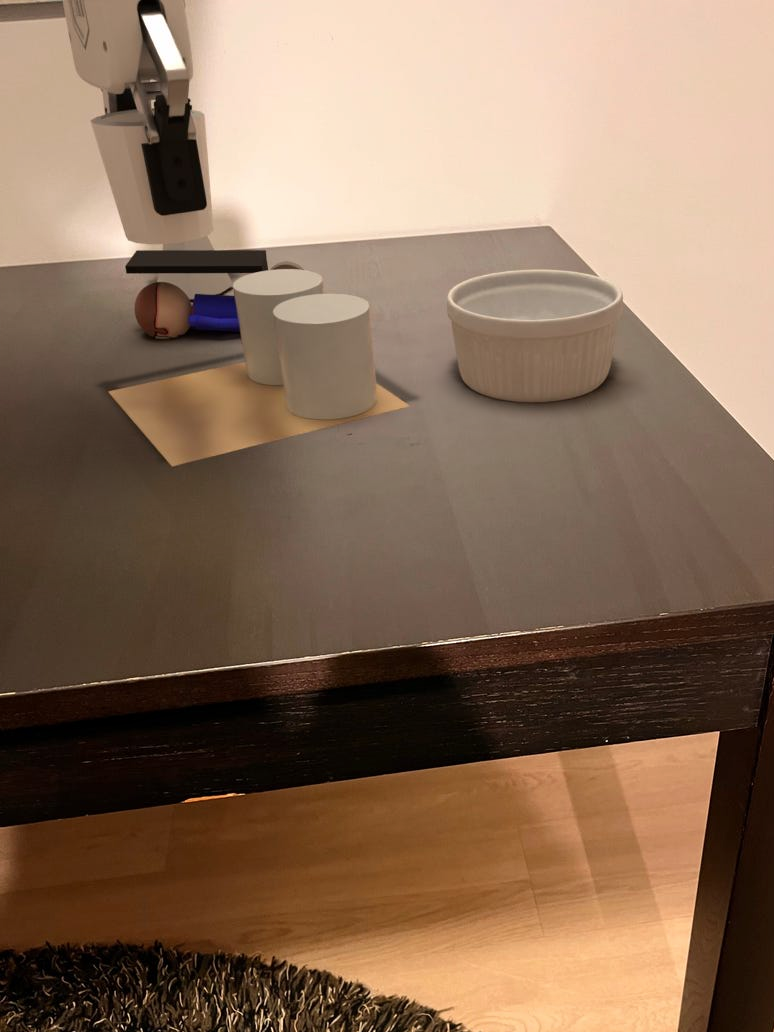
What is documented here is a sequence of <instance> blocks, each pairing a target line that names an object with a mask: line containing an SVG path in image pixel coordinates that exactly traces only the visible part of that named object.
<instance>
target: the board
mask: <svg viewBox="0 0 774 1032" xmlns="http://www.w3.org/2000/svg"><path fill="white" fill-rule="evenodd" d="M376 388H377V402H376V404H375V405H374V406H373V407H372V408H371V409H369V410H368V411H366V412H363V413H361V414H358V415H355V416H352V417H347V418H341V419H332V420H315V419H307V418H303V417H299V416H296V415H294V414H292V413H291V412H289V410H288V409H287V407H286V402H285V395H284V388H283V386H273V385H265V384H260V383H257V382H254V381H252V380H251V379H250V378H249V377H248V376H247V371H246V365H245V361H244V362H243V361H242V362H238V363H235V364H229V365H225V366H224V365H223V366H219V367H215V368H210V369H206V370H201V371H197V372H192V373H188V374H183V375H178V376H174V377H169V378H164V379H160V380H154V381H150V382H146V383H141V384H137V385H136V384H135V385H131V386H127V387H123V388H118V389H113V390H109V391H107V392H108V394H109V395H110V396H111V398H113V400H114V401H115V402H116V403H117V404H118V406H119V407H120V408H121V409H122V410H123V411H124V413H125V414H126V415H127V416H128V417H129V418H130V419H131V420H132V422H133V423H134V424H135V425H136V426H137V428H138V429H139V430H140V431H141V432H142V433H143V435H144V436H145V437H146V438H147V440H148V441H149V442H150V443H151V444H152V445H153V447H155V448H156V450H157V451H158V452H159V453H160V454H161V455H162V457H163V458H164V459H165V460H166V461H167V463H168V464H169V465H170V466H171V467H176V466H180V465H185V464H188V463H192V462H196V461H200V460H205V459H208V458H211V457H216V456H219V455H224V454H228V453H231V452H236V451H240V450H244V449H248V448H251V447H255V446H259V445H263V444H267V443H271V442H275V441H279V440H282V439H288V438H290V437H295V436H299V435H303V434H307V433H311V432H314V431H318V430H322V429H326V428H330V427H334V426H338V425H342V424H347V423H349V422H354V421H358V420H362V419H366V418H369V417H370V418H371V417H374V416H377V415H381V414H385V413H389V412H394V411H397V410H402V409H406V408H409V407H411V405H409V404H408V403H407V402H405V401H404V400H402V399H401V398H399V396H396V395H394V394H393V393H392V392H390V391H388V390H387V389H385V387H383V386H381V385H379V383H377V382H376Z"/></svg>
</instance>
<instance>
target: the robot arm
mask: <svg viewBox="0 0 774 1032" xmlns="http://www.w3.org/2000/svg"><path fill="white" fill-rule="evenodd" d="M62 5H63V10H64V15H65V16H64V17H65V22H66V27H67V32H68V37H69V38H68V39H69V43H70V48H71V53H72V54H71V55H72V59H73V64H74V68H75V71H76V73H77V75H78V77H80V79H81V80H83V81H84V82H85V83H87V84H88V85H90V86H92V87H95V88H97V89H100V91H101V92H102V100H103V101H102V102H103V110H104V111H103V112H104V115H106V114H110V113H115V112H120V111H127V110H136V109H137V110H138V114H139V117H140V120H141V123H142V127H143V130H144V133H145V136H146V139H147V142H148V143H143V144H141V145H142V150H143V155H144V161H145V166H146V171H147V176H148V181H149V186H150V191H151V196H152V201H153V206H154V210H155V211H156V213H158V214H159V215H162V216H165V215H172V214H179V213H186V212H193V211H200V210H204V209H205V208H206V206H207V200H206V194H205V188H204V182H203V176H202V170H201V164H200V158H199V152H198V146H197V141H196V129H195V125H194V122H193V118H192V115H191V112H190V111H191V110H193V105H192V104H191V102H192V100H191V98H189V91H190V82H191V80H192V79H193V76H194V63H193V62H194V61H193V53H192V46H191V45H192V44H191V38H190V32H189V25H188V19H187V14H186V9H185V2H184V0H62ZM151 80H152V81H151ZM152 101H153V108H154V115H153V112H152V109H151V108H152Z"/></svg>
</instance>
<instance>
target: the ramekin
mask: <svg viewBox="0 0 774 1032" xmlns="http://www.w3.org/2000/svg"><path fill="white" fill-rule="evenodd" d="M623 308H624V295H623V291H622V289H621V288H620V287H619V286H618V285H617V284H616V283H614V282H613V281H611V280H609V279H606V278H603V277H601V276H597V275H594V274H590V273H584V272H583V273H582V272H577V271H572V270H561V269H520V270H507V271H500V272H499V271H498V272H493V273H488V274H483V275H478V276H475V277H472V278H467V280H463V281H462V282H460V283H458V284H455V285H454V286H452V288H451V289H450V290H449V292H448V293H447V297H446V313H447V317H448V318H449V320H450V321H451V322H450V323H451V328H452V336H453V342H454V343H453V344H454V348H455V349H454V350H455V355H456V360H457V365H458V366H457V367H458V371H459V374H460V377H461V379H462V381H463V382H464V384H465V385H466V386H467V387H469V388H470V389H471V390H473V391H474V392H476V393H478V394H480V395H483V396H486V397H489V398H492V399H497V400H501V401H509V402H517V403H550V402H557V401H558V402H559V401H564V400H565V401H566V400H569V399H574V398H578V397H581V396H583V395H586V394H589V393H591V392H592V391H594V390H596V389H598V387H600V386H601V385H602V384H603V383H604V382H605V380H606V379H607V377H608V375H609V372H610V369H611V365H612V360H613V355H614V349H615V344H616V337H617V330H618V323H619V318H620V317H621V315H622V314H623Z"/></svg>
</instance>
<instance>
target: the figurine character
mask: <svg viewBox="0 0 774 1032" xmlns="http://www.w3.org/2000/svg"><path fill="white" fill-rule="evenodd" d="M268 266H269V265H268V257H267V250H266V249H262V250H261V249H227V250H226V249H214V250H162V249H159V250H157V249H155V250H152V249H151V250H149V249H147V250H145V249H143V250H141V249H137V250H135V252H134V254H132V256H131V258H130V259H129V260H128V261H127V263H126V264H125V266H124V268H125V273H126V274H129V275H130V274H132V275H133V274H137V275H138V274H141V275H143V274H151V275H152V274H158V273H227V274H252V273H256V272H261V271H268V270H277V269H298V270H305V269H304V268H303V267H302V266H301V265H299V263H295V262H293V261H289V260H288V261H287V260H286V261H281V262H278V263H275V264H274V265H273V266H272V267H271V268H270V269H269V267H268ZM134 316H135V319H136V322H137V323H138V326H139V327H140V328H141V329H142V331H143V332H144V333H146V334H147V335H148V336H150V337H151V338H153V339H158V340H168V339H175V338H179V337H181V336H184V335H185V334H186V333H187V332H188V331H189V329H190V327H194V329H195V331H213V332H235V333H237V332H238V333H240V328H239V322H238V316H237V309H236V303H235V297H234V295H227V294H215V295H210V294H195V296H194V299H193V302H191V299H189V298H188V296H187V295H186V294H185V292H184V291H183V290H182V289H180V288H179V287H177V286H176V285H173V284H171V283H167V282H157V281H154V282H152V283H149V284H147V285H146V286H144V287H143V288H142V289H141V290H140V291H139V292H138V294H137V295H136V298H135V301H134Z"/></svg>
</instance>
